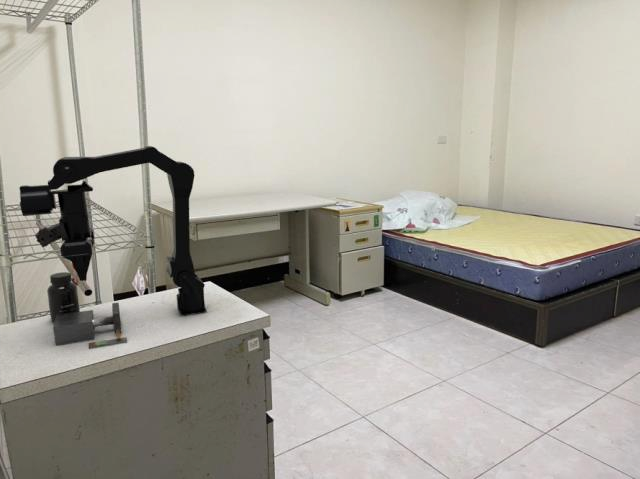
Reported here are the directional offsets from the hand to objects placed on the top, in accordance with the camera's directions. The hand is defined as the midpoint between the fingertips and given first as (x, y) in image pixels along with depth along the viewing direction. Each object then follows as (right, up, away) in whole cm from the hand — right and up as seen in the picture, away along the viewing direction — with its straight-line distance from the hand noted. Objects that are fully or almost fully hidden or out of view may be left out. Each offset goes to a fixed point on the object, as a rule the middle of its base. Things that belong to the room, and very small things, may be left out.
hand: (83, 275), depth 116 cm
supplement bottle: (-9, -12, +9) cm, 18 cm away
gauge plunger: (+4, -14, -2) cm, 15 cm away
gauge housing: (+3, -15, -3) cm, 15 cm away
